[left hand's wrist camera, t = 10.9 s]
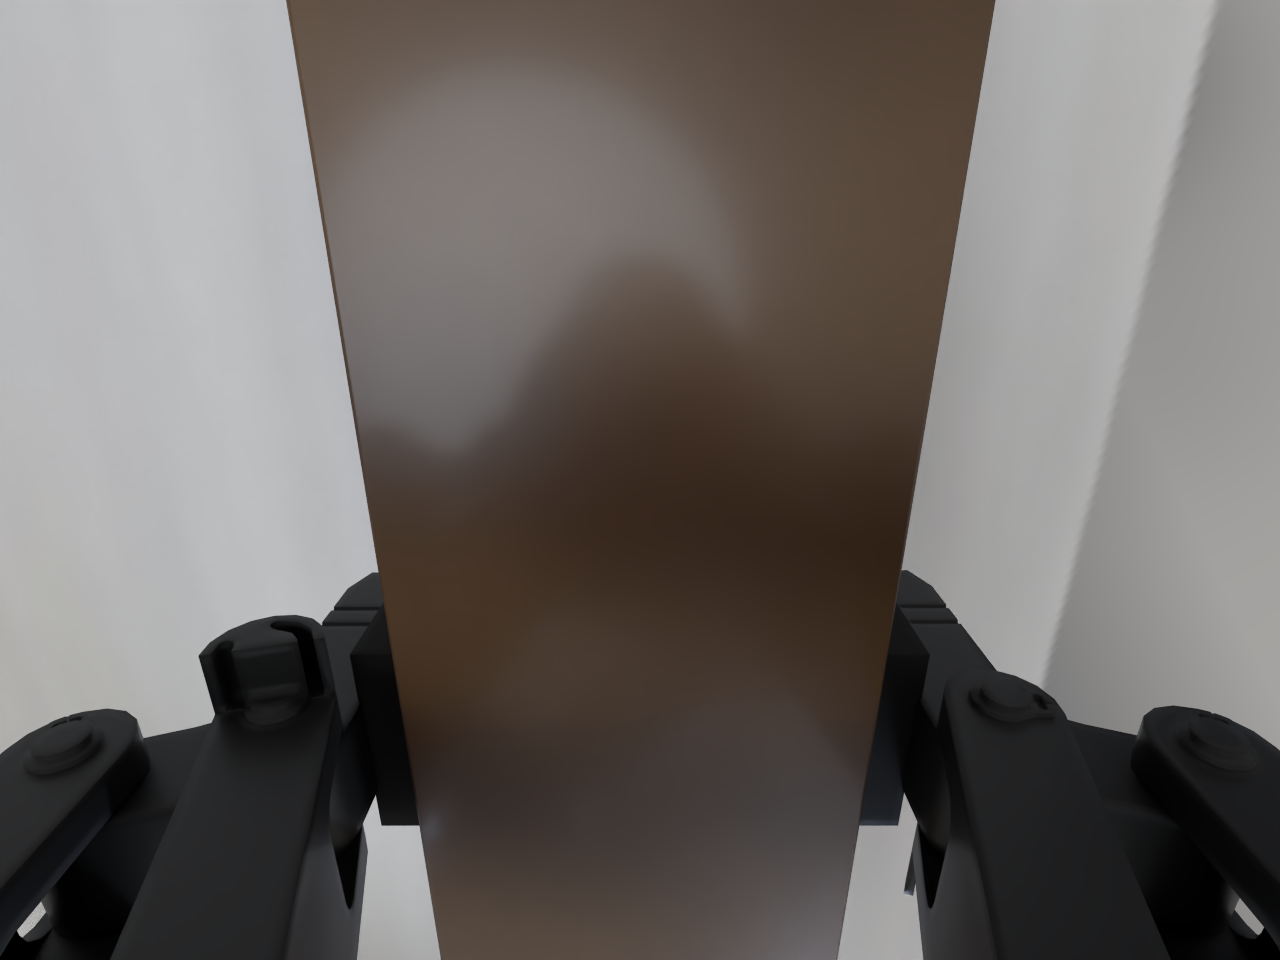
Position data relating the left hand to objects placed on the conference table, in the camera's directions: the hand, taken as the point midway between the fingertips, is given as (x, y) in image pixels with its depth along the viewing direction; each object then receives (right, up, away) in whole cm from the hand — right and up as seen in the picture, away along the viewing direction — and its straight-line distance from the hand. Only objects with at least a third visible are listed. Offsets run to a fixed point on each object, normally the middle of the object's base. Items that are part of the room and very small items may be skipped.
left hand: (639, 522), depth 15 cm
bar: (0, +19, -7) cm, 21 cm away
